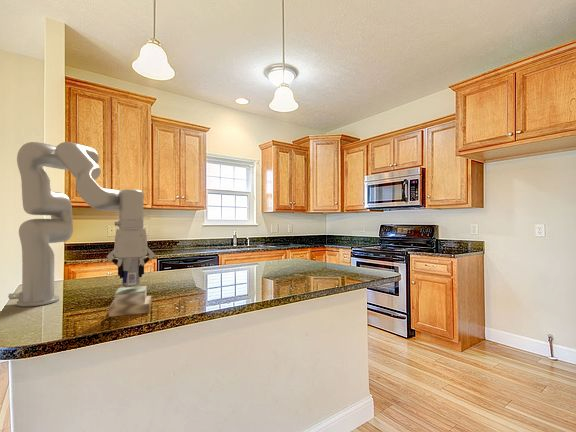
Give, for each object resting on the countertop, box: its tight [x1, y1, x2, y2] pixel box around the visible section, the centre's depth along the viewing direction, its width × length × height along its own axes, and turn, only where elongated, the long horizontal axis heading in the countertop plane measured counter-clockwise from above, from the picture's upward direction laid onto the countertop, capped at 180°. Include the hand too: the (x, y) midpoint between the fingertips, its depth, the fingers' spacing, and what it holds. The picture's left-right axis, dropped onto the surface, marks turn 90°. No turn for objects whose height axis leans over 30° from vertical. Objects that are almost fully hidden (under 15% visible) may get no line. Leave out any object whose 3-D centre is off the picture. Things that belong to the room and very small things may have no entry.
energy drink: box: [122, 257, 141, 288], centre depth 109 cm, size 5×5×12 cm
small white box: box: [108, 285, 152, 317], centre depth 109 cm, size 12×12×7 cm
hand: (131, 276), depth 109 cm, fingers closed on energy drink, 5 cm apart
